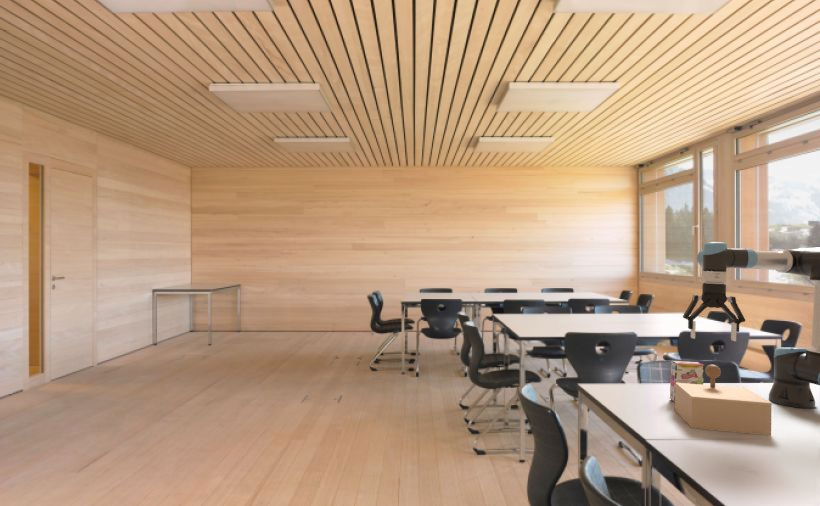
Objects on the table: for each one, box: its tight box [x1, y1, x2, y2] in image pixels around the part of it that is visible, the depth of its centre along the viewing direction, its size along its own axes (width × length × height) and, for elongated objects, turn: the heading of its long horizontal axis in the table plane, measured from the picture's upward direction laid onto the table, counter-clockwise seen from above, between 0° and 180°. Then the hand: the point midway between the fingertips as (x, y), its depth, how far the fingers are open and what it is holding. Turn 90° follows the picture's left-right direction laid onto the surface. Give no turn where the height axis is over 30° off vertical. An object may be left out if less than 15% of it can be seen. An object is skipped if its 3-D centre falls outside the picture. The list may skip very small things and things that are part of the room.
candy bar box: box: [669, 360, 705, 403], centre depth 197 cm, size 11×5×16 cm, turn 84°
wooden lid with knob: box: [675, 364, 773, 407], centre depth 173 cm, size 24×20×9 cm
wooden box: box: [674, 385, 772, 436], centre depth 173 cm, size 24×20×10 cm
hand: (713, 339), depth 180 cm, fingers open, 13 cm apart
